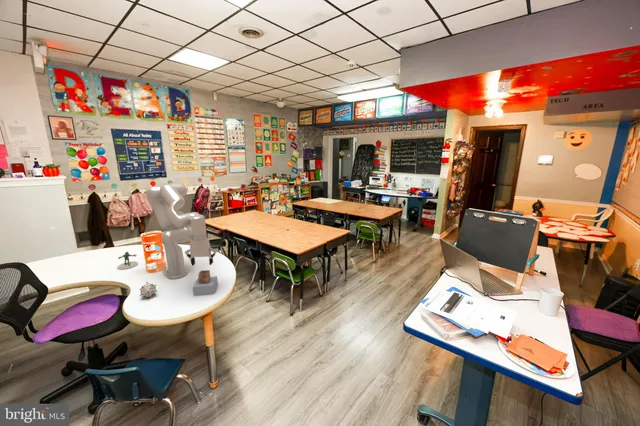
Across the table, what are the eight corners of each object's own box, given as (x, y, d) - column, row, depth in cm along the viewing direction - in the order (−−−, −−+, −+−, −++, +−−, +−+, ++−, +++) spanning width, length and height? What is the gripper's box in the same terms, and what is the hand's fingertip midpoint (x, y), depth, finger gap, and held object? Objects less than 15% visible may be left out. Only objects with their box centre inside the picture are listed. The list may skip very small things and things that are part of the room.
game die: (148, 300, 144) (146, 284, 147) (162, 295, 144) (159, 278, 147) (136, 302, 136) (133, 284, 139) (150, 296, 136) (147, 278, 139)
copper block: (199, 284, 145) (197, 274, 143) (201, 279, 149) (200, 270, 148) (208, 283, 145) (207, 274, 144) (210, 279, 150) (209, 270, 149)
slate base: (193, 296, 143) (192, 287, 141) (199, 286, 153) (198, 277, 152) (213, 294, 145) (212, 285, 143) (218, 284, 155) (217, 276, 154)
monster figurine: (139, 261, 188) (137, 248, 185) (136, 267, 177) (133, 254, 175) (120, 264, 183) (117, 251, 180) (115, 271, 172) (112, 257, 170)
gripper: (180, 239, 136) (184, 268, 140) (213, 238, 138) (216, 266, 143) (185, 234, 143) (189, 262, 148) (217, 234, 145) (219, 261, 150)
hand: (202, 264), depth 145 cm, fingers open, 9 cm apart
